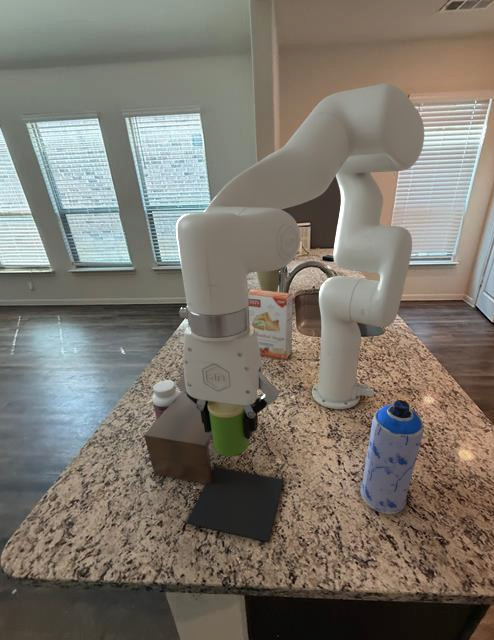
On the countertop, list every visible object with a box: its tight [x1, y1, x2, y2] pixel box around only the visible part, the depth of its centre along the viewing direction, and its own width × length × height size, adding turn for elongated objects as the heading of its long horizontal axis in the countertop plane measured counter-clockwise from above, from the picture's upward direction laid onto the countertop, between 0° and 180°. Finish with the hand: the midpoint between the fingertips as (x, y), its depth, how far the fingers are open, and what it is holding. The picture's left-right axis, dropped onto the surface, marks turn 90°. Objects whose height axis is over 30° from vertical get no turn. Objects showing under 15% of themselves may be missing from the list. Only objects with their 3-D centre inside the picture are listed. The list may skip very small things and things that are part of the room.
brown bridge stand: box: [143, 391, 213, 485], centre depth 63 cm, size 12×14×10 cm
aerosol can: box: [359, 399, 425, 515], centre depth 51 cm, size 8×8×20 cm
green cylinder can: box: [208, 401, 251, 457], centre depth 47 cm, size 6×6×8 cm
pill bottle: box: [151, 379, 181, 420], centre depth 71 cm, size 6×6×11 cm
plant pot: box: [255, 269, 280, 292], centre depth 163 cm, size 15×15×16 cm
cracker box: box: [248, 288, 293, 361], centre depth 101 cm, size 14×6×21 cm, turn 68°
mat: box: [185, 466, 284, 543], centre depth 55 cm, size 14×12×1 cm
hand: (230, 428), depth 48 cm, fingers closed on green cylinder can, 5 cm apart
